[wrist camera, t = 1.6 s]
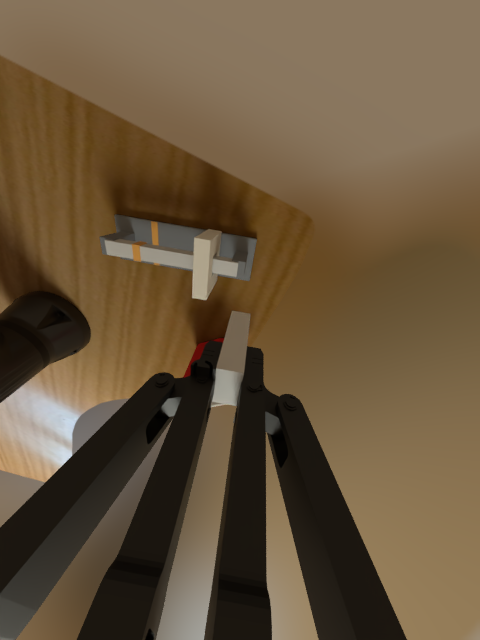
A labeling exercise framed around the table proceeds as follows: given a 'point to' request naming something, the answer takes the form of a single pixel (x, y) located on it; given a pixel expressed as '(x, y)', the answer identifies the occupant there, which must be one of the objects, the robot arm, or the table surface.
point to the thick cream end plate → (205, 263)
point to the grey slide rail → (176, 246)
